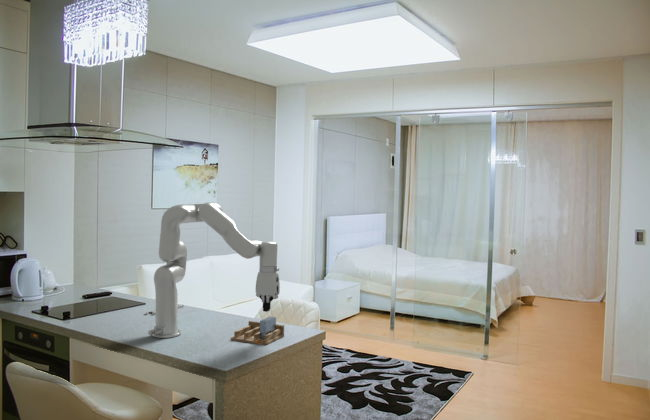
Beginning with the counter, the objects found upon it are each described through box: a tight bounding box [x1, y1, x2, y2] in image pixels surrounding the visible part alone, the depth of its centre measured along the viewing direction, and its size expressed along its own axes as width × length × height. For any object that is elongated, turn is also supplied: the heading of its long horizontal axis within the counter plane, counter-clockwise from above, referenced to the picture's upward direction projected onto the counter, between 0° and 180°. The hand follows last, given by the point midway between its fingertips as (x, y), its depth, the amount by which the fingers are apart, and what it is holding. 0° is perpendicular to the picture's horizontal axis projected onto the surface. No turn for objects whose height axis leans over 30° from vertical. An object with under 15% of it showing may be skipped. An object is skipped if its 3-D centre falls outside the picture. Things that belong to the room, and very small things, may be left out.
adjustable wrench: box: [145, 304, 185, 316], centre depth 280 cm, size 25×6×2 cm, turn 146°
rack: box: [230, 320, 285, 346], centre depth 228 cm, size 16×18×5 cm
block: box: [259, 316, 277, 340], centre depth 227 cm, size 9×3×8 cm, turn 157°
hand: (266, 310), depth 226 cm, fingers closed
